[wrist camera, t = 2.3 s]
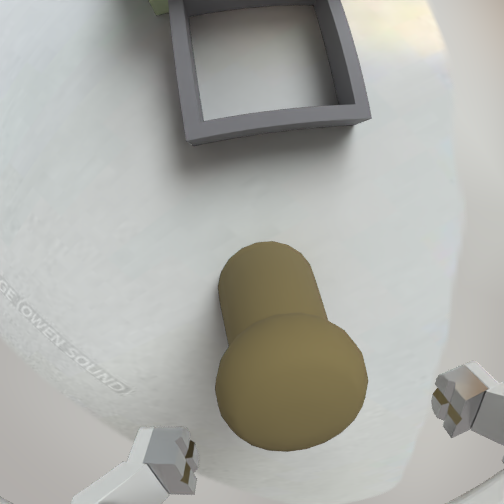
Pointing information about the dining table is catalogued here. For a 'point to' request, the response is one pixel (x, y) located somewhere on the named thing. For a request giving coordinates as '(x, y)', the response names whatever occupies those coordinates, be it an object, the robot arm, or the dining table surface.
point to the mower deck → (346, 113)
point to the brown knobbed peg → (283, 354)
